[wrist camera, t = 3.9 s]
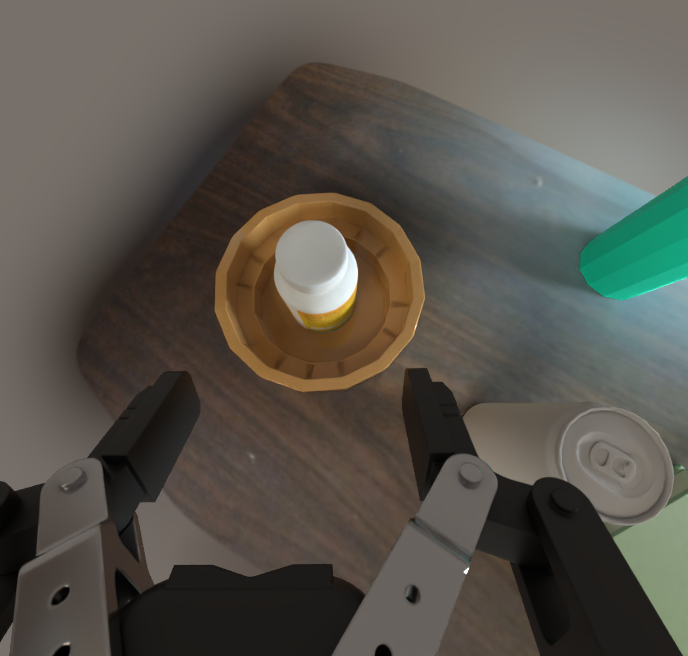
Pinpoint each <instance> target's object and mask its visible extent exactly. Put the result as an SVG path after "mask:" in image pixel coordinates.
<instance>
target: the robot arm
mask: <svg viewBox="0 0 688 656" xmlns="http://www.w3.org/2000/svg"><path fill="white" fill-rule="evenodd" d="M402 411H403V417H404V422H405V427H406V432H407V437H408V442H409V447H410V452H411V457H412V462H413V467H414V472H415V477H416V482H417V487H418V492H419V497H420V501H423V503H422V505H421V507H420V509H419V510H418V512H417V514H416V516H415V517H414V518H411V519H410V520H409V521H408V522H407V523H406V525H405V527H404V528H403V530H402V532H401V534H400V535H399V537H398V539H397V541H396V542H395V544H394V546H393V548H392V549H391V551H390V553H389V555H388V556H387V558H386V560H385V562H384V564H383V565H382V567H381V569H380V571H379V572H378V574H377V576H376V578H375V579H374V581H373V583H372V585H371V587H370V588H369V590H368V592H367V594H366V595H365V594H364V593H363V592H362V591H361V590H359V589H358V588H357V587H355V586H354V585H352V584H351V583H349V582H347V581H345V580H343V579H341V578H338V577H335V576H333V566H332V564H293V565H290V566H286V567H283V568H280V569H277V570H273V571H270V572H267V573H264V574H260V575H257V576H254V577H247V576H244V575H241V574H238V573H235V572H232V571H229V570H226V569H223V568H220V567H218V566H214V565H174V567H173V570H172V572H171V574H170V577H169V579H167V580H165V581H163V582H160V583H158V584H156V585H154V583H153V581H152V579H151V576H150V574H149V571H148V568H147V564H146V558H145V553H144V547H143V542H142V537H141V532H140V526H139V521H138V516H137V514H136V512H135V510H136V509H137V507H138V505H139V503H140V502H155V501H156V499H157V497H158V495H159V494H160V492H161V490H162V488H163V486H164V484H165V482H166V480H167V478H168V476H169V474H170V472H171V470H172V468H173V466H174V464H175V462H176V460H177V458H178V456H179V454H180V453H181V451H182V449H183V447H184V445H185V443H186V441H187V439H188V437H189V435H190V433H191V431H192V429H193V427H194V425H195V423H196V421H197V419H198V417H199V414H200V400H199V397H198V395H197V392H196V389H195V386H194V384H193V381H192V378H191V376H190V374H189V373H188V372H187V371H168V372H164V373H162V375H161V376H160V377H159V379H158V380H157V381H156V382H155V384H154V385H153V386H148V387H147V388H146V389H144V390H143V391H142V392H140V393H139V394H138V395H136V396H135V398H134V399H133V400H132V401H131V403H130V404H129V405H128V407H127V410H124V412H123V413H122V414H121V415H120V417H119V420H116V422H115V423H114V424H113V426H112V427H111V428H110V429H109V431H108V432H107V433H106V434H105V436H104V437H103V438H102V440H101V441H100V442H99V443H98V445H97V446H96V447H95V448H94V450H93V451H92V452H91V453H90V455H89V456H88V457H87V458H84V459H80V460H76V461H74V462H72V463H69V464H68V465H66V466H64V467H62V468H61V469H59V470H58V471H57V472H56V473H54V474H53V475H52V476H51V477H50V478H49V479H48V480H47V482H46V483H43V484H39V485H35V486H32V487H29V488H25V489H21V490H18V491H14V490H13V489H12V488H11V487H10V486H9V485H8V484H6V483H5V482H2V481H0V642H1V640H2V638H3V637H4V635H5V634H6V632H7V630H8V629H9V627H10V626H11V624H12V623H13V627H12V637H11V646H10V655H9V656H436V654H437V652H438V649H439V646H440V644H441V641H442V638H443V635H444V633H445V630H446V627H447V625H448V622H449V619H450V616H451V614H452V611H453V608H454V606H455V603H456V600H457V598H458V595H459V592H460V589H461V587H462V584H463V581H464V579H465V576H466V573H467V570H468V568H469V565H470V562H471V559H472V556H473V553H474V550H475V549H477V550H480V551H482V552H485V553H488V554H491V555H494V556H497V557H499V558H502V559H505V560H508V561H510V564H511V567H512V570H513V573H514V576H515V579H516V582H517V585H518V589H519V592H520V595H521V598H522V601H523V604H524V607H525V610H526V613H527V616H528V619H529V622H530V625H531V628H532V631H533V634H534V637H535V641H536V644H537V647H538V650H539V653H540V656H683V655H682V653H681V651H680V650H679V648H678V646H677V645H676V643H675V641H674V640H673V638H672V636H671V635H670V633H669V631H668V630H667V628H666V626H665V625H664V623H663V621H662V620H661V618H660V616H659V615H658V613H657V611H656V610H655V608H654V606H653V605H652V603H651V601H650V600H649V598H648V596H647V595H646V593H645V591H644V590H643V588H642V586H641V585H640V583H639V581H638V580H637V578H636V576H635V575H634V573H633V571H632V569H631V568H630V566H629V564H628V563H627V561H626V559H625V558H624V556H623V554H622V553H621V551H620V549H619V548H618V546H617V544H616V543H615V541H614V539H613V538H612V536H611V534H610V533H609V531H608V529H607V528H606V526H605V524H604V523H603V521H602V519H601V518H600V516H599V514H598V513H597V511H596V509H595V508H594V506H593V504H592V503H591V501H590V500H589V499H588V497H587V496H586V495H585V494H584V493H583V492H582V491H581V490H579V489H578V488H577V487H575V486H574V485H572V484H571V483H569V482H567V481H565V480H562V479H559V478H555V477H543V478H540V479H538V480H537V481H536V482H535V483H534V484H533V485H529V484H526V483H522V482H519V481H515V480H512V479H508V478H505V477H503V476H500V475H498V474H497V473H495V472H494V471H493V470H492V469H491V467H490V466H489V465H488V464H487V463H486V462H484V461H483V460H482V459H480V458H479V456H478V454H477V452H476V450H475V447H474V445H473V442H472V440H471V437H470V435H469V433H468V430H467V428H466V425H465V423H464V420H463V418H462V416H461V413H460V410H459V408H458V406H457V403H456V401H455V398H454V396H453V393H452V392H451V391H450V390H449V388H448V387H447V386H446V385H445V384H444V383H443V382H432V381H431V378H430V375H429V372H428V370H427V368H406V370H405V376H404V386H403V396H402Z"/></svg>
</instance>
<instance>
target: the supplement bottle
mask: <svg viewBox="0 0 688 656" xmlns="http://www.w3.org/2000/svg"><path fill="white" fill-rule="evenodd" d="M275 258H276V263H275V267H274V281H275V285H276V288H277V290H278V292H279V294H280V296H281V297H282V299H283V301H284V302H285V304H286V305H287V307H288V308H289V310H290V311H291V313H292V315H293V316H294V318H295V319H296V321H297V322H298V323H299V324H300V325H301V326H302V327H304V328H305V329H307V330H309V331H312V332H315V333H329V332H333V331H336V330H338V329H340V328H342V327H343V326H344V325H345V324H346V323H347V322H348V321H349V320H350V318H351V317H352V315H353V312H354V309H355V303H356V291H357V279H358V268H357V263H356V260H355V257H354V255H353V254H352V252H351V250H350V249H349V248H348V247H347V245H346V242H345V240H344V238H343V236H342V235H341V233H340V232H339V231H338V230H337V229H336V228H335V227H333V226H332V225H330V224H328V223H325V222H322V221H316V220H307V221H302V222H299V223H297V224H295V225H293V226H291V227H290V228H289V229H287V230H286V231H285V232H284V233H283V235H282V236H281V237H280V239H279V241H278V243H277V246H276V252H275Z"/></svg>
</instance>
